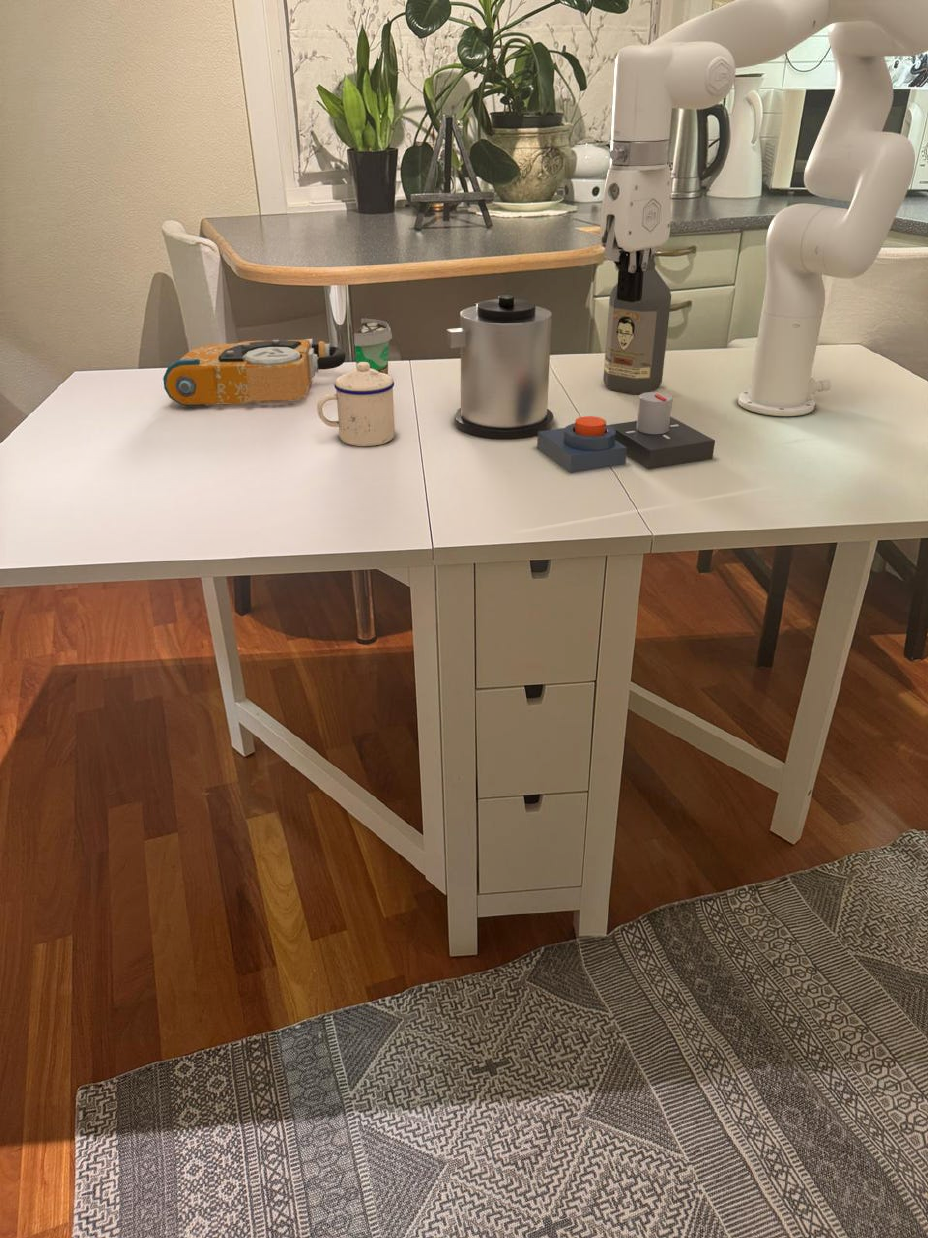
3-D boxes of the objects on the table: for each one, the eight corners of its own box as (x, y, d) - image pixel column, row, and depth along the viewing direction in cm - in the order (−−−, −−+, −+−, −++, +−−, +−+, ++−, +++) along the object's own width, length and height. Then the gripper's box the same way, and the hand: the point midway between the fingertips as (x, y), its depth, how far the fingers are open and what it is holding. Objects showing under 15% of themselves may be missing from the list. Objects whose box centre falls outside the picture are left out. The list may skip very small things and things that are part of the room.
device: (183, 330, 169) (345, 326, 171) (190, 374, 173) (348, 370, 175) (156, 363, 150) (339, 358, 151) (165, 412, 154) (343, 407, 156)
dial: (630, 426, 138) (633, 391, 135) (657, 422, 140) (661, 388, 137) (647, 436, 134) (650, 400, 132) (674, 432, 136) (679, 397, 133)
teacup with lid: (389, 425, 148) (385, 353, 142) (402, 444, 140) (399, 368, 134) (315, 433, 145) (308, 359, 139) (325, 452, 137) (318, 375, 131)
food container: (391, 390, 164) (388, 334, 159) (357, 390, 164) (353, 334, 159) (396, 371, 175) (394, 317, 170) (364, 371, 175) (361, 317, 170)
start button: (595, 426, 135) (596, 414, 134) (610, 435, 131) (611, 423, 131) (569, 429, 134) (570, 418, 133) (583, 439, 130) (584, 427, 129)
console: (668, 434, 144) (670, 414, 142) (712, 459, 134) (715, 439, 133) (606, 443, 141) (608, 423, 139) (648, 470, 131) (650, 449, 129)
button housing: (589, 440, 141) (591, 412, 139) (625, 464, 133) (628, 435, 130) (536, 448, 139) (538, 419, 136) (570, 473, 130) (572, 443, 128)
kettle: (518, 397, 160) (521, 279, 150) (570, 432, 145) (577, 302, 135) (425, 409, 155) (422, 287, 145) (468, 447, 139) (468, 312, 129)
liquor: (621, 376, 172) (636, 202, 156) (665, 384, 167) (685, 206, 152) (597, 388, 165) (611, 207, 150) (643, 396, 161) (662, 212, 145)
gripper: (624, 161, 113) (615, 313, 123) (696, 152, 121) (682, 295, 131) (579, 158, 118) (573, 305, 127) (651, 149, 126) (641, 287, 136)
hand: (628, 299), depth 129 cm, fingers closed
